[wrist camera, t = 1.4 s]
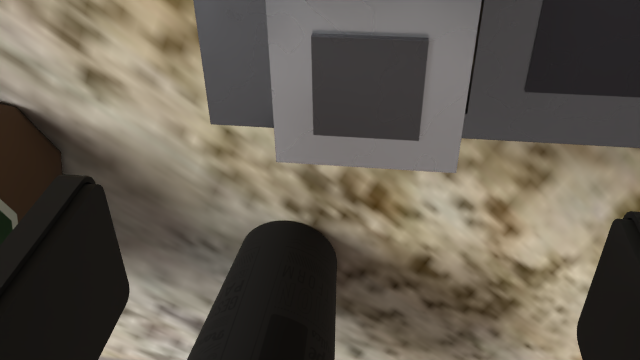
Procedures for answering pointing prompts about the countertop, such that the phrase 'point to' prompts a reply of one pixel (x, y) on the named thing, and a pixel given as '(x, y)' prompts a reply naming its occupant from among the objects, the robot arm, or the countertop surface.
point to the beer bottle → (22, 167)
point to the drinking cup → (275, 299)
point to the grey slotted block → (473, 70)
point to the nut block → (371, 81)
